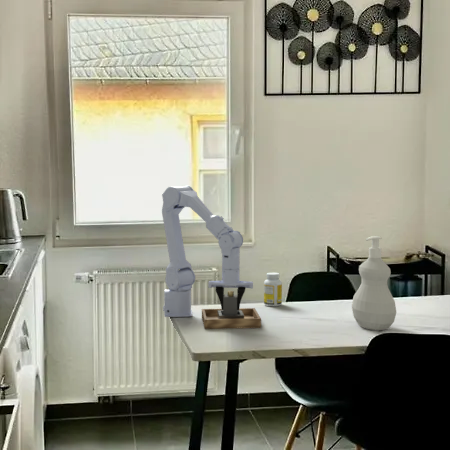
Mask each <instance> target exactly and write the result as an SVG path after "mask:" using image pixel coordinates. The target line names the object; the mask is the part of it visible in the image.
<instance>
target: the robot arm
mask: <svg viewBox="0 0 450 450" xmlns="http://www.w3.org/2000/svg"><path fill="white" fill-rule="evenodd" d="M161 197H162V206H161V214H162V221H163V222H162V223H163V226H164V233H165V239H166V245H167V246H166V247H167V252H168V259H169V263H168V264H167V267H166V268H165V279H164V280H165V284H166V286H167V288H168V289H167V288H166V289H164V290H163V291H164V292H163V293H164V294H163V297H164V299H163V300H164V301H163V303H164V304H163V307H162V309H163V313H164V314H163V315H164V317H165V318H185V317H193V311H192V288H193V285H194V283H195V281H196V274H195V272H194V270H193V268H192V264H191V262H189V261H188V260H187V258H186V251H185V245H184V240H183V233H182V226H181V221H180V214H181V212H182V211H183V210H184V209H185V208H190V209H191V210H193V212H194V213H195V214H196V215H197V216H199V217H200V218H201V219H202V220H203V221H204V222H205V228H206V229H207V230H208V231H209V232H210V233H211V234H212V235H213V236H214V237H215V238H216V240H217V243H218V246H219V248H220V249H221V251H220V252H221V253H220V254H221V280H209V281H208V286H207V287H208V289H212V288H215V293H216V295H217V297H218V300H219V303H220V306H221V308H220V309H222V310H223V296H224V294H225V289H227V288H228V289H229V288H230V289H233V288H234V289H236V291H237V294H236V295H237V310H239V308H241V307H240V306H241V301H242V299H243V296H244V294H245V292H246V289H250V290H251V289H254V282H253V281H246V280H240V276H241V275H240V271H241V270H240V268H241V267H240V260H241V258H240V257H241V253H240V252H241V250H240V248H241V247H242V246H243V243H244V237H243V235H242V233H241V232H240V231H239V230H234V229H233V227H232V226H230V225H229V224H228V223H227V222H226V221H225V220H224V217H223V216H220V215H219V214H217V215H216V214H215V215H214V213H212V212H211V210H210V209H209V208H208V207H207V205H206V204H205V203H204V202H203V201H202V200H201V199H200V198H199V195H198V193H197V191H196V190H194V189H193V187H192V186H191V185H184V186H183V185H181V186H168V187H167V188H166V189H165V190H164V191H163V193H162V195H161Z"/></svg>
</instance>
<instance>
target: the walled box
mask: <svg viewBox="0 0 450 450" xmlns="http://www.w3.org/2000/svg"><path fill="white" fill-rule="evenodd" d="M217 310H222V308H202V309H201V320H202V324H203V328H204V330H217V329H218V330H221V329H222V330H224V329H225V330H227V329H230V330H232V329H261V328H262V318H261V316H260V315H259V313H258V311H257V310H256V308H255V307H252V308H251V307H247V308H246V307H245V308H241V307H239V310H242V312H243V314H244V319H218V318H217Z"/></svg>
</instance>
